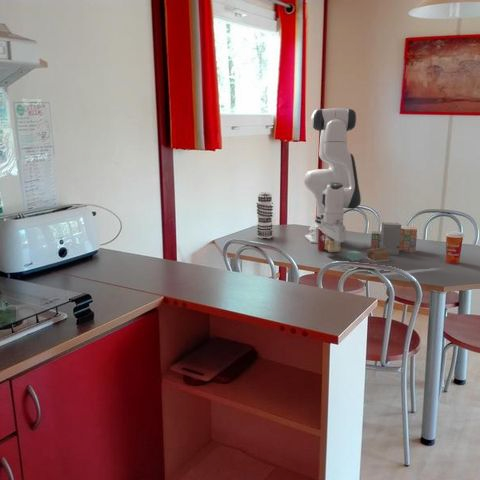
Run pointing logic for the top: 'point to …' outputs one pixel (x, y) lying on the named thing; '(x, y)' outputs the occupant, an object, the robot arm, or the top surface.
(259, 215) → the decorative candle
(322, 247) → the soda can
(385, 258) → the walnut block
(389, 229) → the skincare box
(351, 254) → the teal cube
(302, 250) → the top surface
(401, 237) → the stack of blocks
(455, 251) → the paper cup
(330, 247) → the oak cube
